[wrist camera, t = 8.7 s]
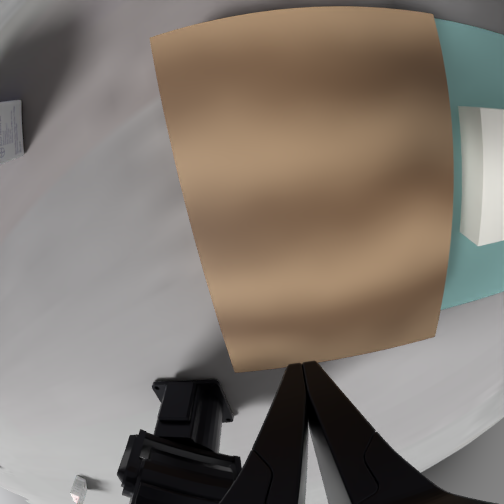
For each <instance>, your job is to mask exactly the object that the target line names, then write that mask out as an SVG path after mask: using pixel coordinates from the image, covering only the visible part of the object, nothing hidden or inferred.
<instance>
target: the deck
mask: <svg viewBox="0 0 504 504" xmlns="http://www.w3.org/2000/svg"><path fill="white" fill-rule="evenodd" d="M150 43H151V48H152V54H153V59H154V65H155V70H156V75H157V81H158V86H159V91H160V96H161V100H162V105H163V110H164V115H165V119H166V124H167V129H168V133H169V138H170V142H171V146H172V151H173V155H174V159H175V164H176V168H177V172H178V176H179V180H180V184H181V188H182V192H183V196H184V200H185V204H186V208H187V212H188V216H189V220H190V224H191V227H192V231H193V235H194V239H195V242H196V246H197V250H198V253H199V257H200V260H201V264H202V268H203V271H204V275H205V278H206V281H207V285H208V288H209V292H210V295H211V299H212V302H213V305H214V309H215V312H216V315H217V318H218V322H219V325H220V328H221V331H222V335H223V338H224V341H225V344H226V347H227V350H228V353H229V356H230V360H231V363H232V366H233V369H234V372H235V373H239V372H249V371H259V370H268V369H276V368H284V367H287V366H288V364H292V363H301V364H302V363H303V362H306V361H313V360H314V361H316V362H317V363H318V362H324V361H330V360H336V359H341V358H346V357H352V356H357V355H362V354H366V353H371V352H376V351H380V350H385V349H389V348H393V347H397V346H401V345H405V344H409V343H413V342H417V341H421V340H425V339H428V338H432V337H435V333H436V329H437V324H438V320H439V315H440V310H441V305H442V299H443V294H444V288H445V281H446V275H447V268H448V260H449V251H450V242H451V230H452V216H453V192H454V158H453V135H452V121H451V110H450V101H449V92H448V85H447V78H446V72H445V66H444V60H443V55H442V50H441V45H440V41H439V36H438V32H437V28H436V24H435V20H434V16H433V14H429V13H423V12H416V11H408V10H400V9H389V8H376V7H353V6H328V7H304V8H291V9H280V10H271V11H263V12H256V13H249V14H243V15H237V16H232V17H227V18H222V19H217V20H212V21H208V22H204V23H199V24H195V25H191V26H188V27H184V28H180V29H177V30H173V31H170V32H166V33H163V34H160V35H157V36H154V37H151V38H150Z"/></svg>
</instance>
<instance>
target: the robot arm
mask: <svg viewBox="0 0 504 504" xmlns="http://www.w3.org/2000/svg"><path fill="white" fill-rule="evenodd" d="M152 389H153V390H154V392H155V393H156V395H157V397H158V398H159V400H160V402H161V406H160V410H159V413H158V420H157V423H156V427H155V431H154V435H153V434H150V433H147V432H146V431H144V430H141V429H140V432H139V435H137V434H136V435H130V436H129V440H128V443H127V446H126V449H125V452H124V455H123V458H122V460H121V463H120V466H119V469H118V472H117V476H118V477H119V479H120V481H121V482H122V485H121V486H122V487H124V488H123V492H122V495H124V496H127V497H130V498H131V499H130V503H129V504H305V496H306V479H307V459H308V424H309V429H310V434H311V437H312V441H313V445H314V449H315V453H316V457H317V460H318V464H319V468H320V472H321V476H322V480H323V484H324V487H325V491H326V495H327V499H328V503H329V504H497V503H492V502H486V501H481V500H477V499H472V498H468V497H464V496H460V495H456V494H452V493H450V492H447V491H445V490H443V489H441V488H440V487H438V486H437V485H435V484H434V483H433V482H431V481H430V480H429V479H428V478H426V477H425V476H424V475H422V474H421V473H420V472H419V471H418V470H416V469H415V468H414V467H413V466H412V465H410V464H409V463H408V462H407V461H406V460H404V459H403V458H402V457H401V456H400V455H399V454H398V453H397V452H395V451H394V450H393V448H392V447H391V446H390V445H389V444H388V443H387V442H386V441H385V440H384V439H383V438H382V437H381V436H380V434H379V433H378V432H375V431H376V430H375V429H374V428H373V427H372V426H371V424H370V423H369V422H368V421H367V420H366V419H365V417H364V416H363V415H362V414H361V413H360V412H359V411H358V409H357V408H356V407H355V406H354V405H353V404H352V402H351V401H350V400H349V399H348V398H347V397H346V396H345V394H344V393H343V392H342V391H341V390H340V389H339V387H338V386H337V385H336V384H335V383H334V382H333V380H332V379H331V378H330V377H329V376H328V375H327V373H326V372H325V371H324V370H323V369H322V367H321V366H320V365H319V364H318V363H317V362H316V361H314V360H313V361H306V362H303V363H302V364H301V363H292V364H288V366H287V368H286V370H285V373H284V375H283V378H282V380H281V383H280V385H279V388H278V390H277V393H276V395H275V397H274V400H273V402H272V405H271V407H270V409H269V412H268V414H267V416H266V418H265V421H264V423H263V425H262V428H261V430H260V432H259V434H258V437H257V439H256V441H255V443H254V445H253V448H252V450H251V452H250V454H249V456H248V458H247V460H246V462H245V464H244V466H243V468H242V467H241V460H240V457H239V456H229V455H224V454H220V453H219V446H220V436H221V427H222V423H224V422H232V421H233V418H234V416H233V414H232V412H231V409H230V407H229V404H228V402H227V400H226V397H225V395H224V392H223V390H222V387H221V385H220V383H219V381H217V380H197V381H166V382H153V385H152ZM141 457H142V458H141ZM144 458H145V459H144Z"/></svg>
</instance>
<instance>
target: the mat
mask: <svg viewBox="0 0 504 504" xmlns="http://www.w3.org/2000/svg"><path fill="white" fill-rule="evenodd" d="M434 20H435V24H436V28H437V32H438V36H439V41H440V45H441V50H442V55H443V60H444V66H445V72H446V78H447V85H448V92H449V101H450V110H451V121H452V135H453V158H454V192H453V216H452V230H451V242H450V251H449V260H448V268H447V275H446V281H445V288H444V294H443V299H442V305H441V310H443V309H446V308H450V307H454V306H457V305H461V304H464V303H468V302H471V301H475V300H478V299H481V298H484V297H488V296H491V295H494V294H497V293H500V292H503V291H504V240H503V241H499V242H495V243H490V244H486V245H482V246H477V245H476V244H474V243H473V242H472V241H471V240H469V239H468V238H467V237H466V236H464V235H463V234H462V233H460V220H461V200H462V155H461V135H460V122H459V111H458V106H468V107H484V108H496V109H504V35H502V34H499V33H496V32H492V31H489V30H485V29H482V28H478V27H474V26H470V25H466V24H461V23H457V22H452V21H447V20H442V19H436V18H434Z"/></svg>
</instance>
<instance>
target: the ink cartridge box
mask: <svg viewBox="0 0 504 504" xmlns="http://www.w3.org/2000/svg"><path fill="white" fill-rule="evenodd" d="M70 493H71V496H72V498H73V500H74V501H75V502H77V504H83V501H84V498H85V495H86V493H87V485H86V479H84V478H82V477H80V476H76V478H75V481H74V484H73V486H72V489H71V492H70Z"/></svg>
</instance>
